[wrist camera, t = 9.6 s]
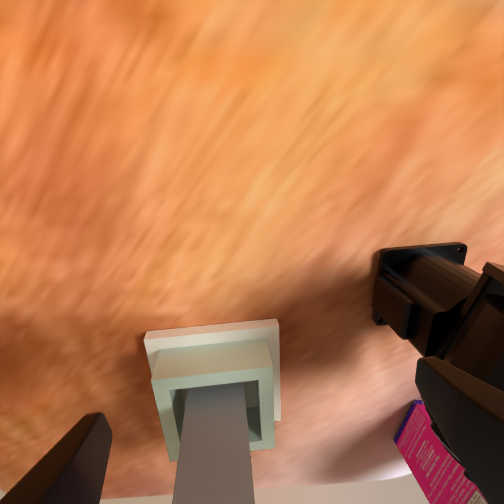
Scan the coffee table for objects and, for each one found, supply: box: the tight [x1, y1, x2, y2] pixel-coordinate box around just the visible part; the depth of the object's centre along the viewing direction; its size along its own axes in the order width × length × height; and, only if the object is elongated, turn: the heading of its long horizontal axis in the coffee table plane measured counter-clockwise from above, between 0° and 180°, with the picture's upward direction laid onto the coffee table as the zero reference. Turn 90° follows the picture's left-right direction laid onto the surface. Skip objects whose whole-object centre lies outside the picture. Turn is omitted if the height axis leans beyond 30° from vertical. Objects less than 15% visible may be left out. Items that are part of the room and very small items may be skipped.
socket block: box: [144, 318, 281, 462], centre depth 23 cm, size 10×10×4 cm
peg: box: [172, 382, 255, 504], centre depth 19 cm, size 4×4×10 cm
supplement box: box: [394, 400, 488, 504], centre depth 24 cm, size 6×6×12 cm
